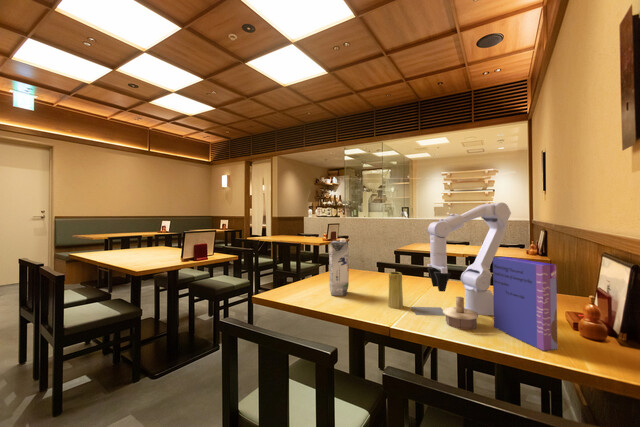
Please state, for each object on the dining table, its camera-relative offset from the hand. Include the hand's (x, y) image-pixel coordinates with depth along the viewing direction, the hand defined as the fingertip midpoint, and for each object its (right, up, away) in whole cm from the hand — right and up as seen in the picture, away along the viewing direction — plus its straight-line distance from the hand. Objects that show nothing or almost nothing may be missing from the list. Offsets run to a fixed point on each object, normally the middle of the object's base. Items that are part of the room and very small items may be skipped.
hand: (438, 288), depth 112 cm
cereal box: (+17, -10, -22) cm, 29 cm away
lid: (+3, -6, -11) cm, 13 cm away
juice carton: (-36, -11, +32) cm, 49 cm away
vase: (-14, -10, +9) cm, 20 cm away
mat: (-3, -10, +3) cm, 11 cm away
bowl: (+3, -10, -11) cm, 15 cm away
